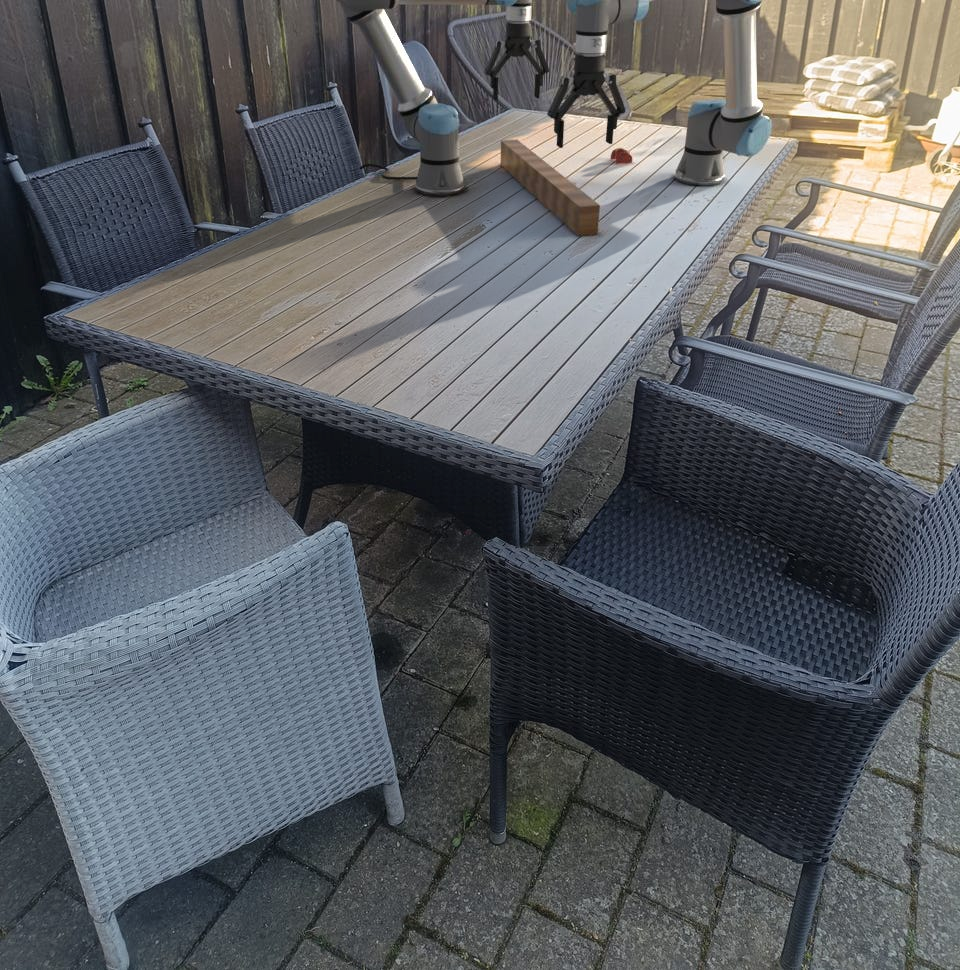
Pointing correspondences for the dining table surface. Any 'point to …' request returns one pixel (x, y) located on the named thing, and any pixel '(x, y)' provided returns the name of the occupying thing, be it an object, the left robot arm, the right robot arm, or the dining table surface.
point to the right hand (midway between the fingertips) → (584, 144)
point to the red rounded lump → (621, 156)
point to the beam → (551, 188)
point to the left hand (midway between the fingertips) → (516, 98)
